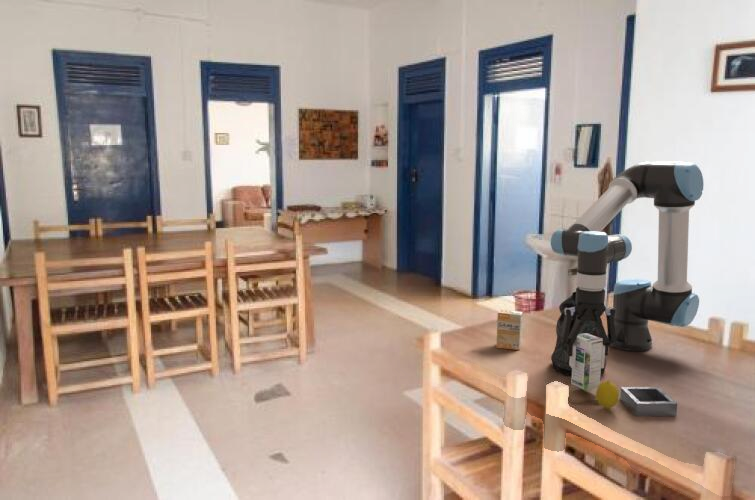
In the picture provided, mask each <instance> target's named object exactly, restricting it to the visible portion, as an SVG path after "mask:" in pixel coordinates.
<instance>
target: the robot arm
mask: <svg viewBox="0 0 755 500" xmlns="http://www.w3.org/2000/svg"><path fill="white" fill-rule="evenodd" d="M703 190H704V177H703V173H702V171H701V169H700V167H699V166H698V165H697V164H695V163H693V162H685V161H684V162H683V161H644V162H640V163H637V164H635V165H633V166H632V165H631V166H630V167H628V168H626V169H625V170H623V171H622V172H620V173H619V174H617V176H615V177H614V178H613V179H612V180H611V181H610V182H609V184H608V189H607V190H606V191H604V193H603V194H601V196H599V198H598V199H597V200H596V201H594V203H593V204H592V205H590V207H588V209H587V210H586V211H584V213H582V215H581V216H580V217H579V218H577V219H576V221H575V222H574V223H572V225H570V226H569V227H568V229H565V228H562V229H558V230H557V229H556V230H555V231H554V232H553V233H552V235H551V238H550V248H551V250H552V252H554V253H555V254H558V255H563V256H566V257H574V258H575V257H576V258H577V268H576V282H575V283H576V289H575V292H576V303H575V305H574V307H572V308H567V307H565V308H564V315H565V316H564V322H563V327H562V332H561V337H560V340H561V341H562V342H563V343H564V344H567V355H568V356H570V360H569V365H570V366H571V368H572V369H575V360H576V346H575V345H574V342H575V340H576V338H577V336H578V334H579V331H580V329H581V327H582V325H583V324H584V323H585V321H594V322H595V324H596V327H597V329H598V332H599V335H600V338H603V341H602V358H601V368H604V359H606V357H607V356H608V355H609V347H613V348H615V349H618V350H624V351H633V352H639V351H640V352H642V351H649V350H650V349H652V347H653V339H652V335H651V331H650V328H649V321H651V322H654V323H659V324H662V325H663V324H664V325H668V326H671V327H679V328H686V327H689V325H691V324H692V322H693V321H694V320H695V317H696V315H697V313H698V310H699V305H700V297H699V295H698V294H697V293H695V292H693V285H692V284H691V283H690V282H689V281H688V261H689V260H688V258H689V257H688V253H689V226H690V224H689V223H690V209H692V208H693V207H694V206H695V204H696V201H699V200H700V198H701V197H702V195H703ZM643 198H646V199H648V198H649V199H653V206H654V207H655V208H656V209H657V210H658V242H657V244H658V245H657V251H658V252H657V280H656V281H655V282H653V283H652V282H651V281H650V280H648V279H640V278H639V279H624V280H619V281H617V282H616V283H614V289H613V294H612V295H613V299H612V306H609V307H608V306H606V305H605V300H606V299H605V298H606V297H605V296H606V290H605V288H606V287H607V286H606V284H607V283H606V282H607V281H606V280H607V265H608V264H611V263H616V262H621V261H622V260H626V259H627V258H628V257H629V256H630V255H631V253H632V250H633V246H632V242H631V240H630V239H629V237H627V236H626V235H625V234H622V233H621V234H620V233H619V234H618V233H613V234H608V233H606V232H605V231H603V230H604V229H605V228H606V227H607V225H609V223H611V221H612V220H613V219H614V218H615V217H616V216H617V215H618V214H619V213H620V212H621V211H622V210H623V209H624V208H625V207H626V206H627V205H628V204H629V205H630V204H632V203H634V201H636V200H637V199H643ZM574 312H576V313H577V317H576V321H575V323H574V326H573V328H572V330H571V332H570V334H569V330H570V325H571V319H572V315H573V313H574ZM604 313H605V316H606V317H605V318H606V329H607V332H606V330H605V327H604V325H603V320H602V317H601V316H602V315H603V314H604ZM568 335H569V336H568Z"/></svg>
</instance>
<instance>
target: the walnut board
mask: <svg viewBox="0 0 755 500" xmlns="http://www.w3.org/2000/svg"><path fill="white" fill-rule="evenodd" d="M565 384H566V385H568V386H569V399H568V401H569V402H570V403H571V405H573V404H576V405H577V404H578V405H581V404H582V405H583V404H585V405H587V404H589V405H590V404H597V405H600V404H599V403H598V401H597V398H596V392H597V388H598V387H596V388H593V389H590V390H587V391H586V390H584V389H582V388H580V387H578V386H576V385H573V384H571V383H565Z"/></svg>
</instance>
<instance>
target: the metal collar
mask: <svg viewBox="0 0 755 500" xmlns="http://www.w3.org/2000/svg"><path fill="white" fill-rule="evenodd" d="M619 398H620V401H621V402H623V404H624V405H625V406H626V407H627V408H628V409H629V410H630V411H631V412H632V414H633V415H635V417H677V415H678V414H677V413H678V402H676V401H675V400H674V399H673V398H672V397H671V396H669V395H668V394H667V392H665V391H664V390H663V389H662V388H660V387H659V386H628V387H627V386H624V387H623V386H620V395H619Z"/></svg>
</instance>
